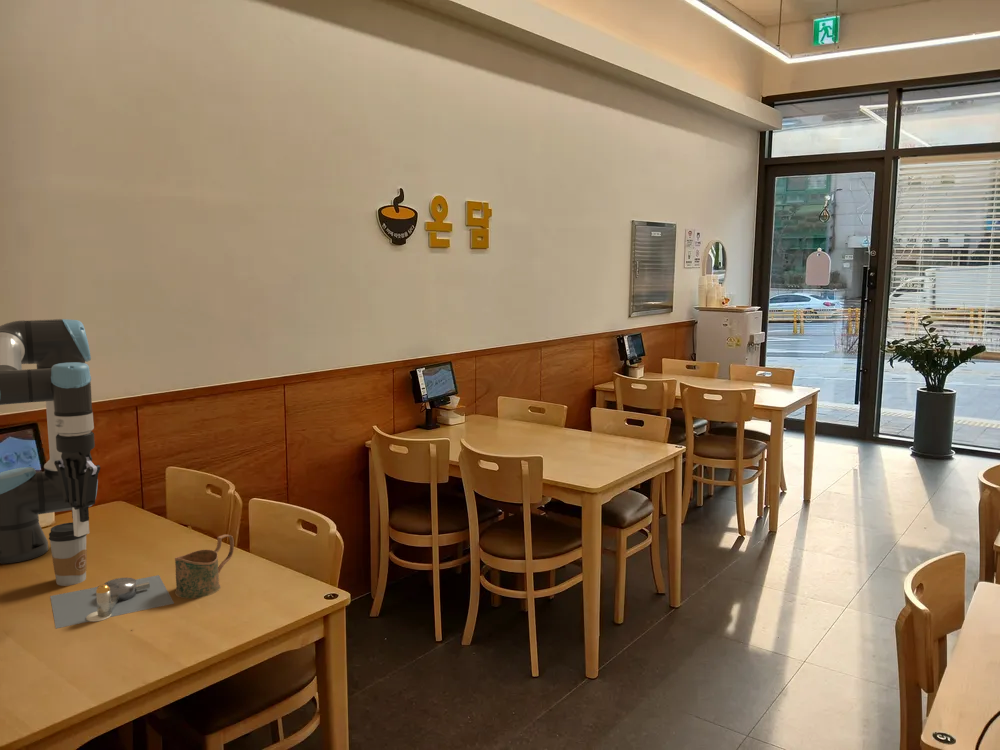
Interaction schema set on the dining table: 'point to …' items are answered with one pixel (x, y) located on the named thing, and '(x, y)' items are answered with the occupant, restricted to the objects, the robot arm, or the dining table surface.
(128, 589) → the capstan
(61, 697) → the dining table surface
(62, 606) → the stand plate
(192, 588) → the mug
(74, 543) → the coffee cup
